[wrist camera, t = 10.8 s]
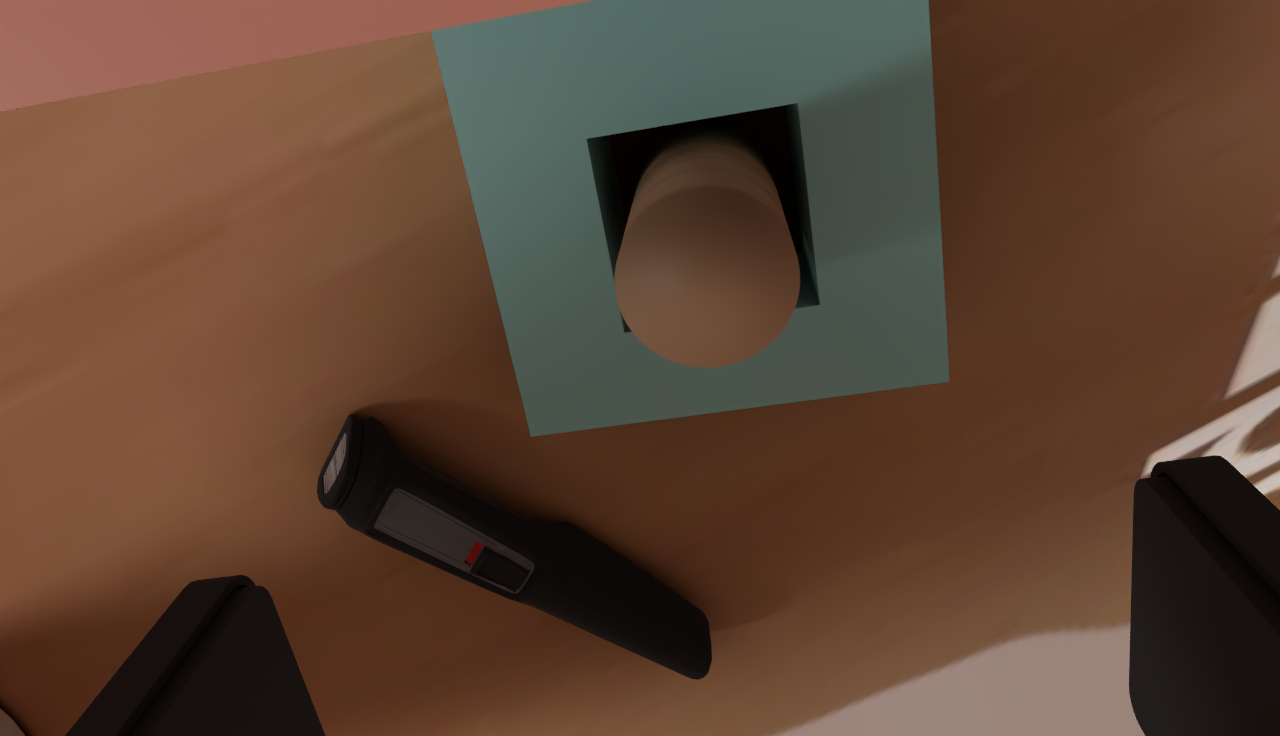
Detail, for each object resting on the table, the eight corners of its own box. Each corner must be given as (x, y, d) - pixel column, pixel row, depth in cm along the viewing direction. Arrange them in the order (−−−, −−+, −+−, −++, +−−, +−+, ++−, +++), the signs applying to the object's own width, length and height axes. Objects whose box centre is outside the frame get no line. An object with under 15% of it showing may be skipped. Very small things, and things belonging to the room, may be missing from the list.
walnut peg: (777, 232, 30) (809, 354, 21) (652, 251, 31) (632, 378, 22) (761, 104, 29) (788, 177, 20) (631, 126, 29) (599, 207, 20)
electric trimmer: (678, 656, 38) (678, 715, 35) (317, 478, 35) (284, 525, 33) (729, 589, 37) (733, 645, 34) (357, 398, 34) (327, 441, 31)
